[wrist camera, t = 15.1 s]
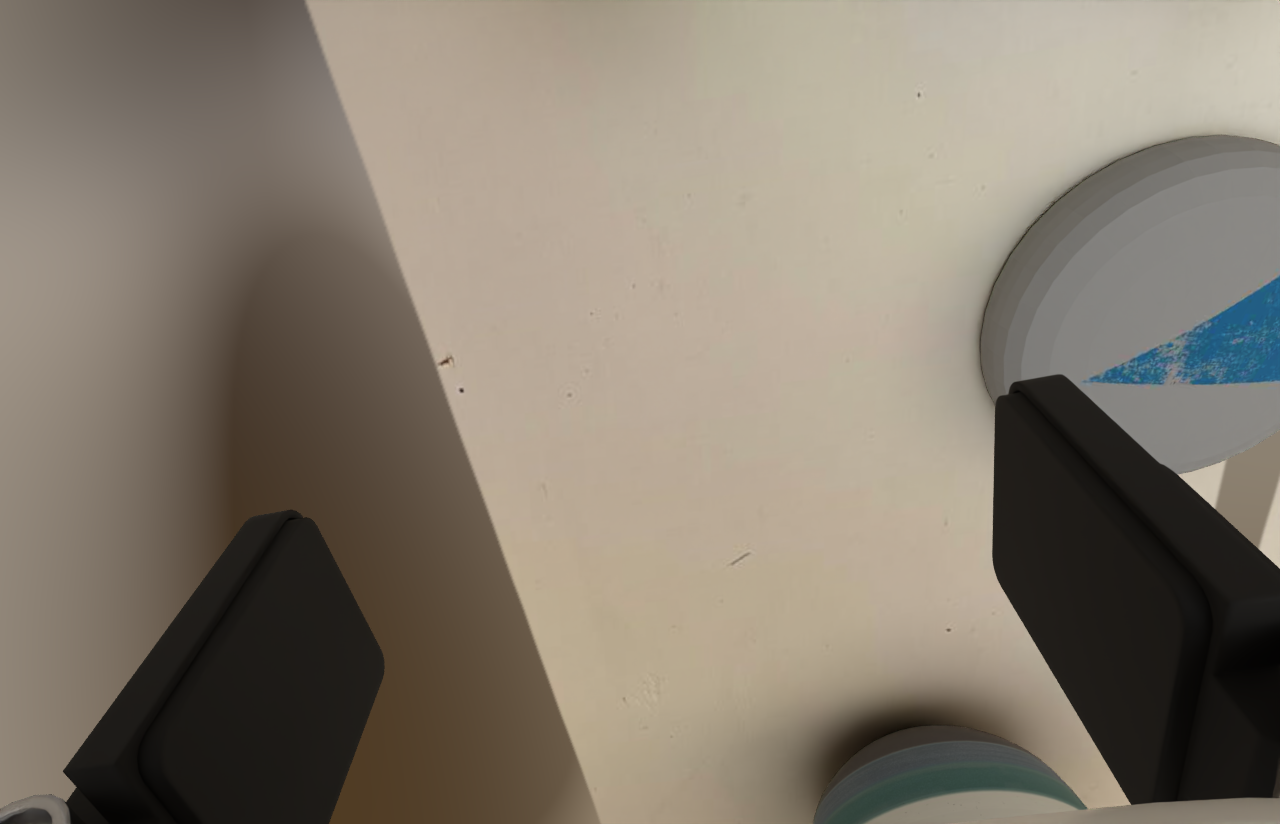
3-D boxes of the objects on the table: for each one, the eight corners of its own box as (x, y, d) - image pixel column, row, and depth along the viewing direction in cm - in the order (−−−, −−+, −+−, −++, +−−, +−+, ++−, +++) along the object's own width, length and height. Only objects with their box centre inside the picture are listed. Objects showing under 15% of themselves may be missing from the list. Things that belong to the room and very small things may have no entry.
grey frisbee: (958, 207, 38) (999, 236, 34) (1360, 77, 36) (1461, 91, 31) (997, 492, 47) (1034, 544, 43) (1323, 406, 44) (1398, 453, 40)
